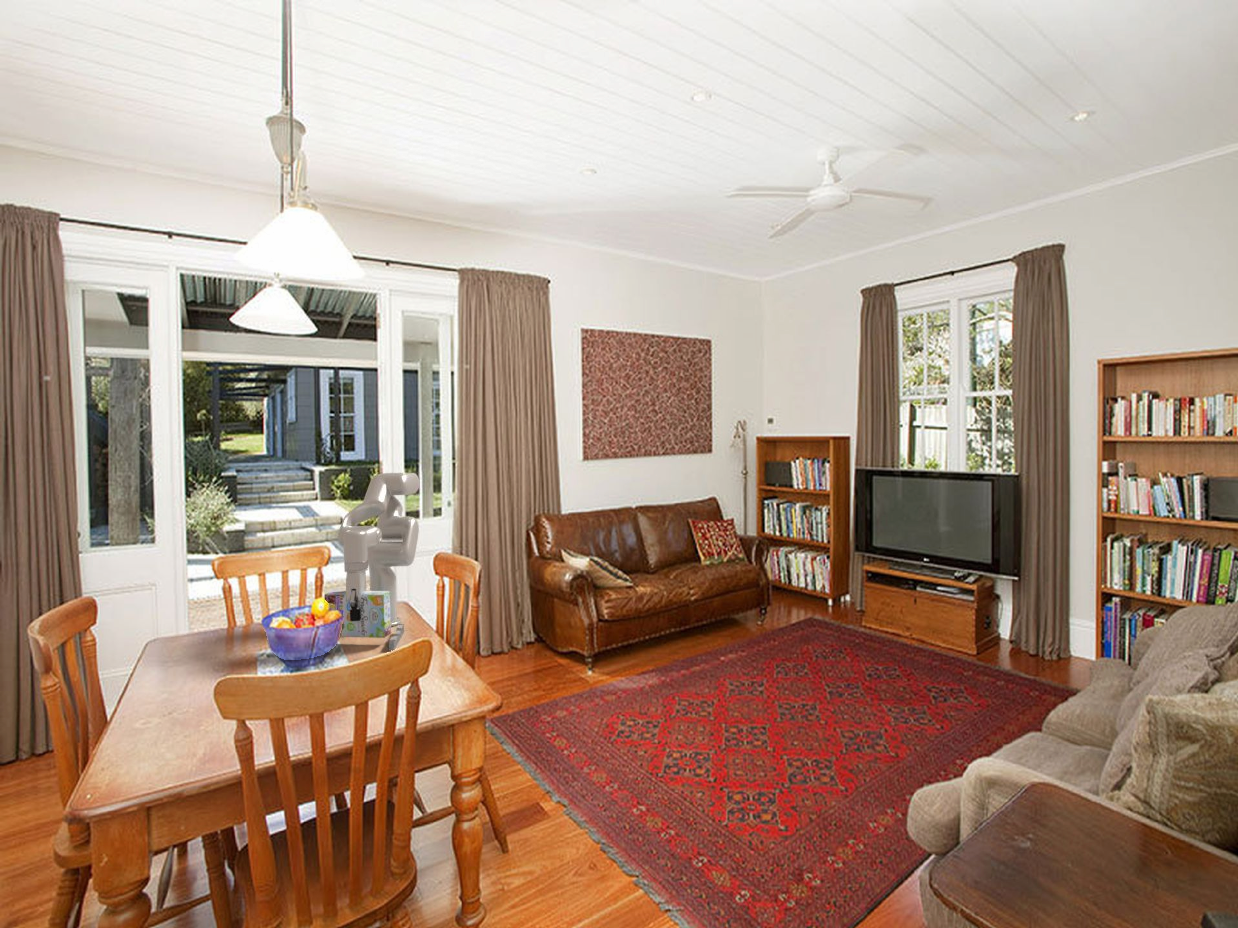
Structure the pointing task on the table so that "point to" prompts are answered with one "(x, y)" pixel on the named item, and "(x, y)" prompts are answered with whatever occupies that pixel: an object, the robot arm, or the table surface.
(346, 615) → the snack box
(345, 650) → the table surface
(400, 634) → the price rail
